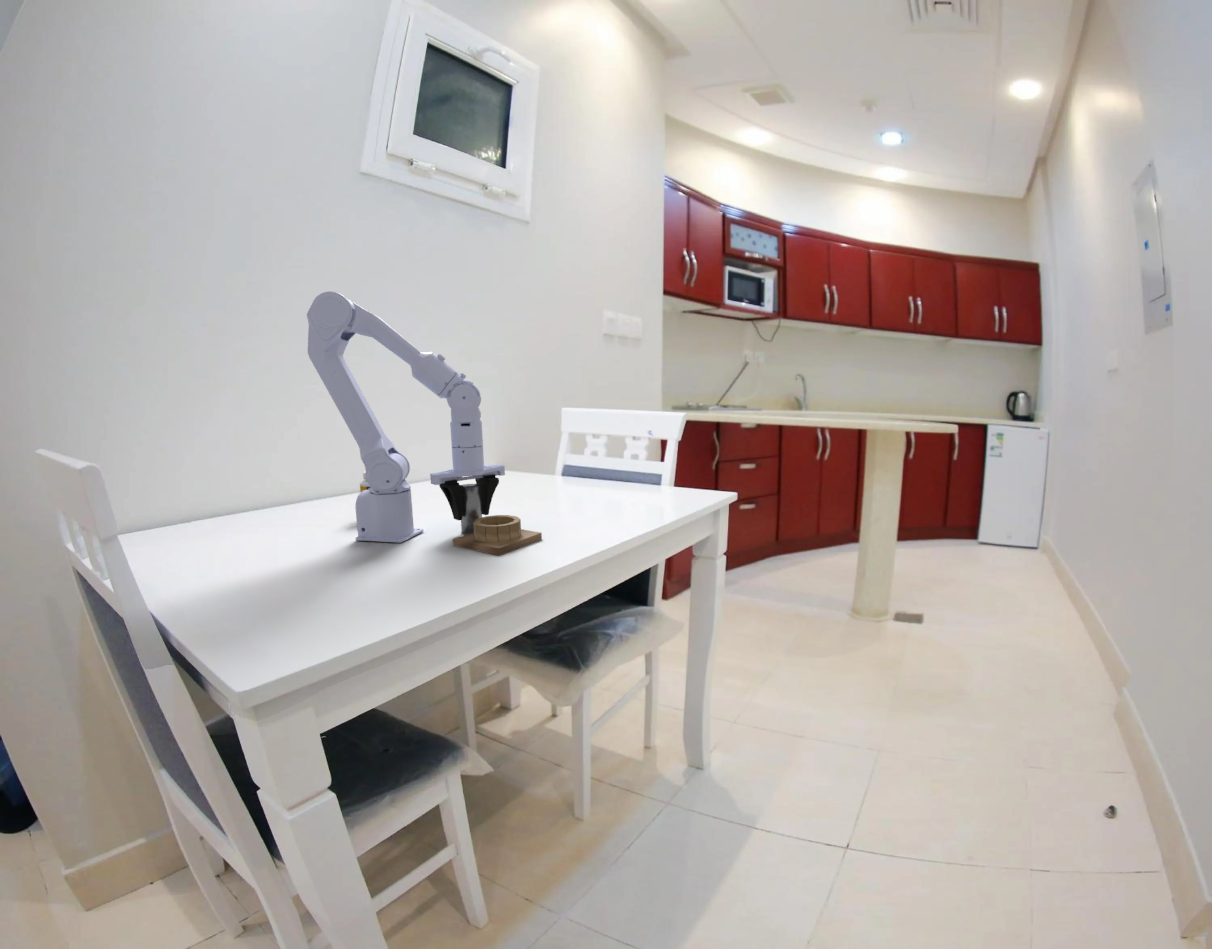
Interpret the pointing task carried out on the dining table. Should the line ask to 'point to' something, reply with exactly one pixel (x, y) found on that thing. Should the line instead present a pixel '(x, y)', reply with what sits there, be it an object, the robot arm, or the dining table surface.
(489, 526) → the socket block
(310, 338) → the robot arm
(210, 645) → the dining table surface
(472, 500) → the steel pin
